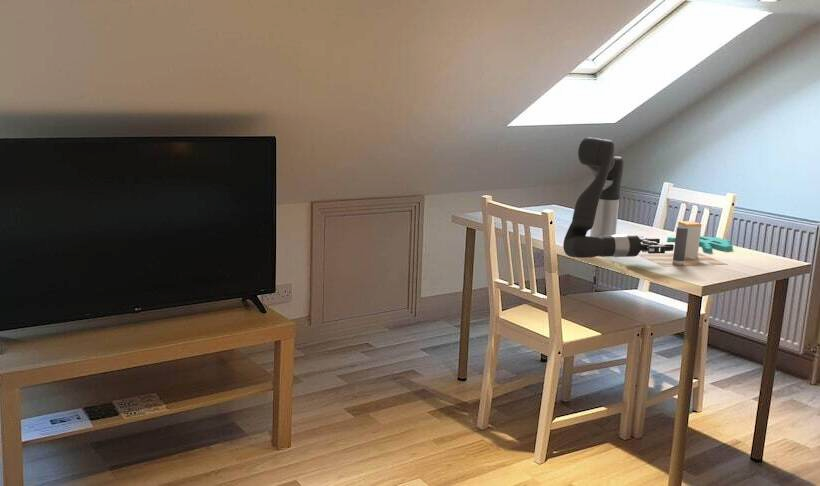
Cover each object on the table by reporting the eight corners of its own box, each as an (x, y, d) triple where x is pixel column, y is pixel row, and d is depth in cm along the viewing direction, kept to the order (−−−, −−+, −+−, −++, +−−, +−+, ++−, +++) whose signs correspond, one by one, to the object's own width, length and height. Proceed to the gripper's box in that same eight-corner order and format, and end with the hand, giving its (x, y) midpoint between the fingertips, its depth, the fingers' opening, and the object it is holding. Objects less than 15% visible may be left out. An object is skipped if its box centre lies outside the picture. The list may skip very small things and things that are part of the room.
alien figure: (707, 254, 303) (743, 250, 313) (708, 248, 302) (744, 244, 312) (666, 242, 320) (702, 239, 330) (667, 237, 319) (703, 233, 329)
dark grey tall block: (670, 262, 279) (674, 227, 276) (679, 262, 280) (684, 226, 277) (676, 265, 275) (680, 229, 272) (686, 265, 276) (690, 229, 273)
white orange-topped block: (674, 253, 293) (678, 221, 290) (689, 253, 294) (693, 221, 292) (682, 257, 288) (686, 224, 285) (697, 256, 290) (701, 224, 287)
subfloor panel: (636, 258, 290) (637, 254, 289) (698, 256, 296) (698, 252, 296) (663, 270, 274) (664, 266, 273) (727, 268, 280) (728, 264, 280)
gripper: (635, 239, 263) (679, 238, 267) (613, 229, 276) (655, 229, 280) (632, 261, 264) (676, 260, 269) (611, 251, 278) (653, 250, 282)
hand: (665, 244), depth 274 cm, fingers open, 8 cm apart
